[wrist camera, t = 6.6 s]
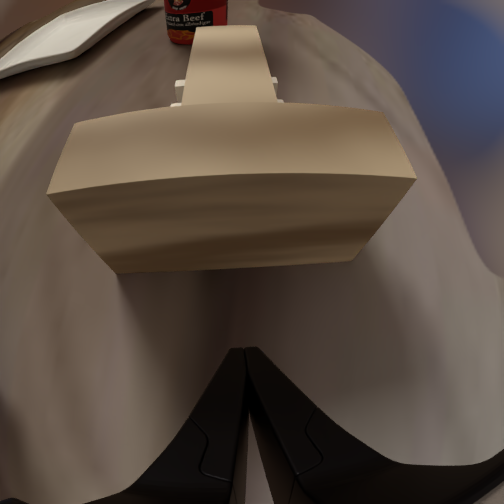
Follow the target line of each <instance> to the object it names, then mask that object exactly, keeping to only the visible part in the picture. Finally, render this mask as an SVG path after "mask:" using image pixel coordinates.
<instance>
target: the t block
mask: <svg viewBox="0 0 504 504" xmlns="http://www.w3.org/2000/svg"><path fill="white" fill-rule="evenodd" d="M416 179H417V177H416V175H415V172H414V170H413V168H412V166H411V164H410V162H409V160H408V158H407V156H406V154H405V152H404V150H403V148H402V146H401V144H400V142H399V140H398V138H397V136H396V135H395V133H394V131H393V129H392V127H391V126H390V124H389V122H388V120H387V119H386V117H385V115H384V113H383V112H378V111H371V110H364V109H357V108H348V107H339V106H329V105H317V104H302V103H278V101H277V97H276V93H275V90H274V86H273V82H272V78H271V75H270V71H269V68H268V64H267V61H266V57H265V54H264V50H263V47H262V43H261V40H260V37H259V34H258V30H257V27H256V26H252V25H232V26H207V27H196V32H195V36H194V40H193V45H192V50H191V54H190V59H189V64H188V69H187V74H186V80H185V85H184V91H183V97H182V103H181V106H173V107H164V108H156V109H148V110H141V111H135V112H128V113H122V114H117V115H111V116H106V117H101V118H96V119H92V120H87V121H83V122H78V123H75V125H74V127H73V129H72V131H71V133H70V135H69V137H68V140H67V142H66V144H65V147H64V149H63V151H62V154H61V156H60V159H59V161H58V164H57V166H56V169H55V171H54V174H53V177H52V179H51V182H50V185H49V188H48V191H47V194H46V195H47V196H48V197H49V198H50V200H51V201H52V202H53V203H54V205H55V206H56V207H57V208H58V210H59V211H60V212H61V213H62V214H63V216H64V217H65V218H66V219H67V220H68V222H69V223H70V224H71V225H72V226H73V227H74V229H75V230H76V231H77V232H78V233H79V234H80V236H81V237H82V238H83V239H84V240H85V241H86V242H87V243H88V244H89V246H90V247H91V248H92V249H93V250H94V251H95V252H96V253H97V254H98V255H99V256H100V258H101V259H102V260H103V261H104V262H105V263H106V264H107V265H108V266H109V267H110V268H111V269H112V270H113V271H114V272H115V273H116V274H120V273H146V272H169V271H191V270H211V269H231V268H249V267H267V266H284V265H300V264H316V263H332V262H346V261H352V260H353V259H354V258H355V256H356V255H357V254H358V253H359V252H360V250H361V249H362V248H363V247H364V246H365V244H366V243H367V242H368V241H369V240H370V238H371V237H372V236H373V235H374V234H375V232H376V231H377V230H378V229H379V227H380V226H381V225H382V224H383V222H384V221H385V220H386V219H387V217H388V216H389V215H390V214H391V212H392V211H393V210H394V208H395V207H396V206H397V205H398V203H399V202H400V201H401V199H402V198H403V197H404V195H405V194H406V193H407V191H408V190H409V189H410V187H411V186H412V185H413V183H414V182H415V181H416Z"/></svg>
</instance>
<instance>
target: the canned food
mask: <svg viewBox="0 0 504 504" xmlns="http://www.w3.org/2000/svg"><path fill="white" fill-rule="evenodd" d="M164 6H165V15H166V24H167V32H168V36H169V38H170V40H171V41H172V42H174V43H177V44H185V45H191V44H193V40H194V36H195V32H196V27H207V26H227V9H228V0H164Z"/></svg>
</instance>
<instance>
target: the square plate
mask: <svg viewBox="0 0 504 504" xmlns="http://www.w3.org/2000/svg"><path fill="white" fill-rule="evenodd" d="M154 1H155V0H108V1H104V2H100V3H96V4H92V5H89V6H85V7H82V8H79V9H76V10H74V11H71V12H68V13H65V14H63V15H61V16H59V17H57V18H56V19H54V20H52V21H51V22H49V23H48V24H46V25H44V26H43V27H41V28H40V29H38V30H37V31H35V32H34V33H32V34H31V35H29V36H28V37H27V38H25V39H24V40H23V41H21V42H20V43H19V44H17V45H16V46H15V47H14V48H13V49H11V50H10V51H9V52H8V53H7V54H6V55H5V56H3V57H2V58H1V59H0V79H2V78H5V77H8V76H11V75H14V74H18V73H21V72H24V71H27V70H31V69H34V68H38V67H42V66H46V65H50V64H55V63H59V62H63V61H66V60H70V59H73V58H76V57H77V56H79V55H80V54H82V53H83V52H84V51H86V50H88V49H89V48H91V47H92V46H93V45H94V44H96V43H97V42H98V41H100V40H101V39H102V38H103V37H105V36H106V35H107V34H109V33H110V32H111V31H113V30H114V29H116V28H117V27H118V26H120V25H121V24H123V23H124V22H126V21H127V20H129V19H130V18H132V17H133V16H134V15H135V14H137V13H138V12H140V11H142V10H143V9H145V8H146V7H148V6H149V5H151V4H152V3H153V2H154Z"/></svg>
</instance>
